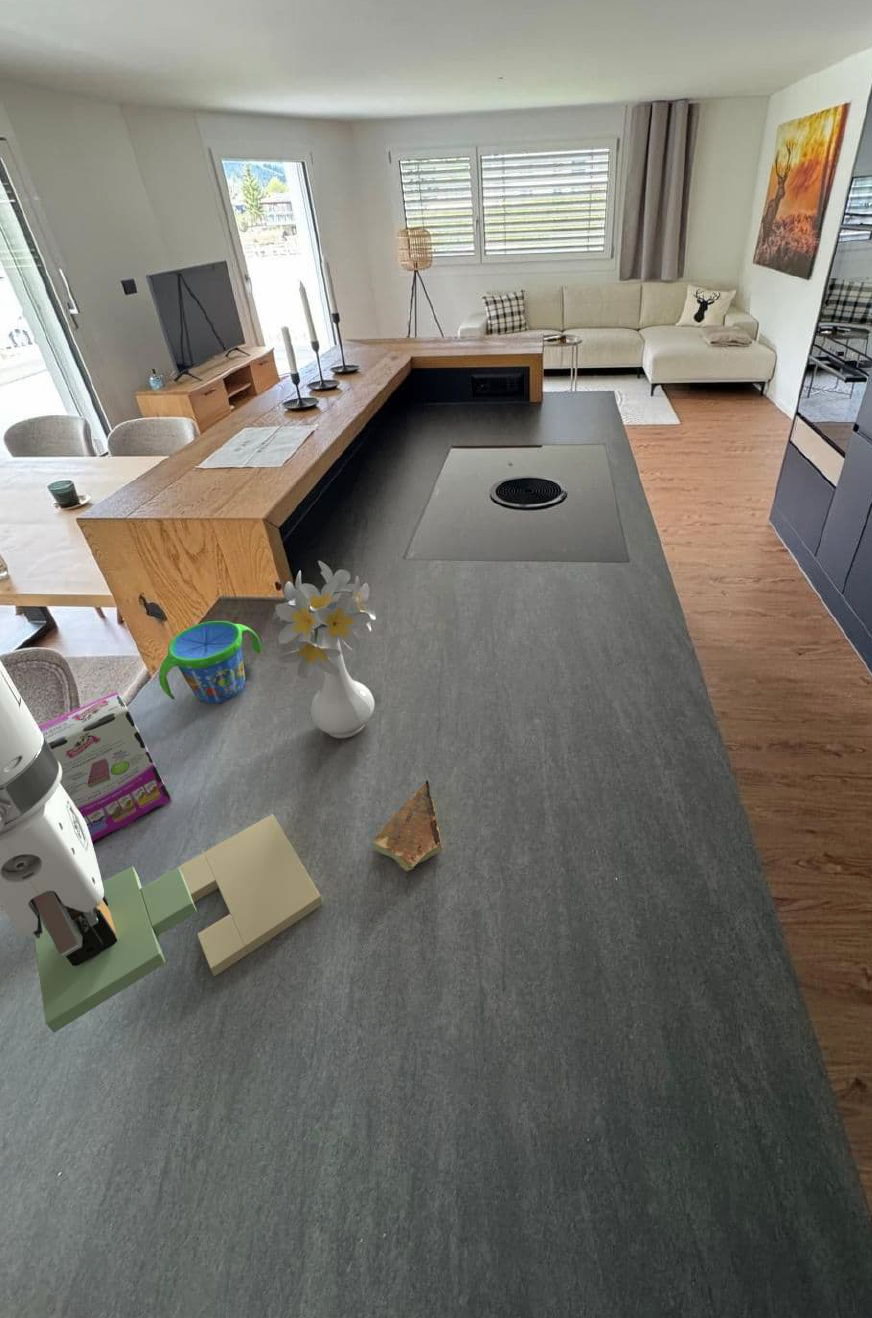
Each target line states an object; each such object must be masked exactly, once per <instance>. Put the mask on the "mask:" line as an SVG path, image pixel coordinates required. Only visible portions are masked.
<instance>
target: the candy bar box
mask: <svg viewBox="0 0 872 1318" xmlns="http://www.w3.org/2000/svg"><path fill="white" fill-rule="evenodd" d="M38 727H39V729H40V731H41V732H42V733H43V735H44V737H45V739H46V740H47V742H48V744H49V746H50V747H51V749H52V751H53V753H54V754H55V756H56V758H57V760H58V761H59V763H60V765H61V768H62V778H61V781H60V784H61V785H62V787H63V788H64V790H65V791H66V793H67V794H68V796H69V797H70V799H71V800H72V802H73V803H74V804H75V806H76V807H77V809H78V810H79V812H80V813H81V815H82V816H83V818H84V820H85V822H86V825H87V827H88V830H89V833H90V837H91V840H92V844H93V845H94V844H96V843H98V842H99V841H101V840H103V839H105V838H107V837H109V836H110V835H112V834H114V833H115V832H118V831H119V830H121V829H123V828H124V827H126V826H128V825H130V824H131V823H134V822H136V821H137V820H139V819H141V818H143V817H144V816H147V814H148V815H149V813H151V812H153V811H155V810H157V809H158V808H161V807H163V806H164V805H166V804H167V803H168V804H169V802H171V801H172V798H171V797H172V796H171V795H170V793H169V791H168V788H167V786H166V784H165V782H164V780H163V777H162V776H161V773H160V771H159V770H158V768H157V765H156V763H155V762H154V760H153V757H152V755H151V753H150V751H149V749H148V747H147V745H146V743H145V741H144V739H143V737H142V735H141V733H140V731H139V729H138V727H137V725H136V723H135V721H134V719H133V717H132V715H131V713H130V711H129V709H128V707H127V705H126V703H125V702H124V700H123V698H122V696H121V694H120V693H119V691H118V690H117V691H115V692H112V693H110V694H108V695H106V696H104V697H101V698H99V699H97V700H93V701H92V702H89V703H88V704H84V705H83V706H80V707H78V708H76V709H74V710H71V711H69V712H67V713H65V714H63V715H61V716H58V717H56V718H54V719H52V720H49V721H46V722H44V723H43V724H39V725H38Z"/></svg>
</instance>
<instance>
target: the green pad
mask: <svg viewBox="0 0 872 1318" xmlns="http://www.w3.org/2000/svg"><path fill="white" fill-rule="evenodd" d="M177 867H178V868H177ZM177 867H176V868H174V869H173V870H171V871H168V872H167V873H165V874H164V875H162V876H159V877H158V878H156V879H154V880H153V881H151V882H149V883H147V884H145V885H144V886H142V884H141V883H142V882H141V880H140V877H139V875H138V873H137V871H136V869H135V867H134V866H130V867H128V868H127V869H125V870H123V871H120V872H119V873H117V874H115V875H113V876H111V877H110V878H108V879H106V880H104V881H102V884H103V888H104V896H105V897H106V899H107V903H108V906H106V904H105V903H104V901H103V900H102V902H101V904H100V905H99V906H97V907H95V908H94V911H97V910H99V909H100V911H101V912H102V914H103V915H104V917H105V918H106V920H107V922H108V923H109V925H110V926H111V928H112V929H113V931H114V932H115V934H116V937H117V942H116V943H115V944H114V945H112V946H111V947H109V948H107V949H106V950H104V951H102V952H100V953H99V954H98V955H96V956H94V957H93V958H91V959H89V960H87V961H85V962H83V963H82V964H80V965H78V966H73V965H72V964H71V963H70V962H69V960H68V959H67V957H66V956H65V957H63V958H62V957H61V956H60V954H59V952H58V950H57V948H56V946H55V944H54V942H53V940H52V938H51V936H50V934H49V933H48V931H47V930H46V929H45V927H44V926H43V924H42V923H41V925H42V932H43V933H42V934H40V938H39V939H33V943H34V949H35V950H34V951H35V956H36V957H35V958H36V963H37V971H38V978H39V985H40V993H41V998H42V1006H43V1013H44V1020H45V1021H44V1022H45V1024H46V1025H47V1027H48V1028H49V1029H50V1030H51V1032H53V1033H56V1032H58V1031H59V1030H61V1029H62V1028H64V1027H66V1026H67V1025H70V1024H71V1023H72V1022H74V1021H76V1020H77V1019H78V1018H80V1017H83V1016H84V1015H85V1014H87V1013H88V1012H90V1011H92V1010H93V1009H95V1008H96V1007H98V1006H99V1005H101V1004H102V1003H104V1002H106V1001H107V1000H110V998H112V997H114V996H116V995H117V994H119V993H120V992H123V991H124V990H125V989H127V988H129V987H130V986H132V985H133V984H135V983H137V982H138V981H139V980H141V979H143V978H145V977H146V976H148V975H150V974H151V973H153V972H154V971H156V970H157V969H159V968H161V967H162V966H163V965H165V964H166V960H165V956H164V954H163V950H162V947H161V944H160V941H159V937H158V936H160V935H162V934H163V933H165V932H168V930H170V929H172V928H174V927H175V926H177V925H179V924H180V923H182V922H183V921H185V920H187V919H188V918H190V917H192V916H193V915H195V914H197V913H198V910H197V908H196V906H195V902H194V903H193V900H192V897H191V895H190V892H189V889H188V887H187V884H186V882H185V879H184V876H183V874H182V872H181V870H180V868H179V866H177ZM80 914H81V911H78V910H75V909H74V910H72V911H71V912H69V915H70V917H71V919H72V918H74V917H76V916H78V915H80Z"/></svg>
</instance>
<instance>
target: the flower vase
mask: <svg viewBox="0 0 872 1318" xmlns="http://www.w3.org/2000/svg"><path fill="white" fill-rule="evenodd" d="M317 563H318V566H319V568H320V569H321V571H320V574H321V575H322V577H323V579H324V580H325V583H326V584H324V585H323V586H322V588H321V590H320V591H319V589H318V588H317V587H316V586H315V585H314V584H311V583H305V582H304V583H302V572H301V570H299V571H298V573H297V575H296V578H295V582H294V583H295V584H293V583H292V582H291V581H287V582H286V583H285V585H284V589H283V595H284V598H285V600H287V602H283V603H277V604H276V605H275V608H274V609H275V612H274V613H273V615H272V619H276V618H279V622H280V623H281V622H282V621H285V622H288V623H289V624H287V625H285V626H284V627H283V628H282V629H281V631H280V632H279V635H278V637H277V640H278V642H279V644H280V645H286V644H289V643H290V642H292V641H293V640H294V639H296V638H297V637H298V641H297V642H296V647H297V649H295V650H292V651H288V652H285V653H282V654H280V655H279V656H278V657H277V660H278V661H280V662H283V663H296V662H299V663H298V666H297V669H296V675H297V676H298V677H299V678H300V679H307V678H309V677H311V675H313V673H314V672H315V671H316V667H317V665H318V668H320V670H321V672H322V684H321V687H320V688H319V690H318V691H316V693H315V694H314V696H313V697H312V700H311V702H310V706H309V716H310V721H311V722H312V724H313V725H314V726H315V728H317V729H318V730H320V731H321V732H323V733H326V734H327V735H328V736H330V737H333V738H336V739H347V738H350V737H354V736H355V735H358V734H359V733H361V731H362V730H363V729H364V728H365V726H366V724H367V723H368V721H369V720H370V718H371V717H372V716H373V713H374V711H375V705H376V704H375V699H374V696H373V693H372V692H371V690H370V689H369V688H368V686H366V685H365V684H363V683H361V682H359V681H358V680H354V679H353V678H352V677H351V675H350V674H349V672H348V669H347V667H346V664H345V660H344V656H343V651H342V647H341V642H342V643H343V645H345V647H347V649H349V650H350V651H353V652H357V651H359V650H360V648H361V642H360V638H359V637H358V635H357V633H356V632H355V631H354V630H353V629H359V628H362V627H364V626H365V627H366V628H367V630H368V631H369V632H372V627H371V623H370V621H371V620H372V621H376V619H377V615H376V613H375V610H374V609H373V608H372V607H371V605H370V604H367V603H365V602H367V600H368V598H369V595H370V587H369V584H368V583H367V582H365V583H363V585H362V586H361V582H360V579H359V576H358V575H356V577H355V582H354V583H349V581H350V580H351V574H350V572H349V571H347V570H346V569H339V570H337V571H336V572H335V573H334V574H333V571H332V570H331V568H330V567H329V566H328V565H327V564H325V563H324V562H323V561H322V560H317ZM294 585H295V586H294ZM350 593H352V595H350ZM335 603H336V604H335ZM334 604H335V606H334V607H335V608H334V610H332V609H331V608H328V607H330V606H332V605H334ZM350 611H351V612H350ZM312 636H313V638H312ZM312 639H313V640H312ZM340 640H341V642H340Z"/></svg>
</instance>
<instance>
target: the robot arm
mask: <svg viewBox="0 0 872 1318" xmlns="http://www.w3.org/2000/svg"><path fill="white" fill-rule="evenodd" d="M38 726H39V725H38V724H37V722H36V720H35V718H34V717H33V715H32V713H31V711H30V710H29V708H28V706H27V704H26V702H25V701H24V699H23V698H22V696H21V694H20V693H19V690H18V689H17V687H16V685H15V684H14V682H13V680H12V678H11V677H10V675H9V673H8V671H7V669H6V668H5V666H4V664H3V662H2V660H0V907H1V908H2V910H3V911H4V912H5V914H6V916H8V919H10V920H11V921H12V923H13V924H14V925H15V926H16V928H17V929H18V930H19V931H20V933H22V934H23V935H24V936H25V937H27V938H29V939H33V940H34V939H39V938H40V934H42V933H43V932H42V925H41V923H42V924H43V926H44V927H45V929H46V930H47V931H48V933H49V934H50V936H51V938H52V940H53V942H54V944H55V946H56V948H57V950H58V952H59V954H60V956H61V957H62V958H63V957H65V956H66V957H67V959H68V960H69V962H70V963H71V964H72V965H73V966H78V965H80V964H82V963H83V962H85V961H87V960H89V959H91V958H93V957H94V956H96V955H98V954H99V953H100V952H102V951H104V950H106V949H107V948H109V947H111V946H112V945H114V944H115V943H116V942H117V937H116V934H115V932H114V931H113V929H112V928H111V926H110V925H109V923H108V922H107V920H106V918H105V917H104V915H103V914H102V912H101V911H100V909H99V910H97V911H94V908H95V907H97V906H99V905H100V904H101V902H102V900H103V901H104V903H105V904H106V906H108V903H107V899H106V897H105V896H104V888H103V884H102V882H103V880H102V876H101V871H100V868H99V863H98V860H97V855H96V852H95V848H94V844H92V840H91V837H90V833H89V830H88V827H87V825H86V822H85V820H84V818H83V816H82V815H81V813H80V812H79V810H78V809H77V807H76V806H75V804H74V803H73V802H72V800H71V799H70V797H69V796H68V794H67V793H66V791H65V790H64V788H63V787H62V785H61V784H60V781H61V778H62V768H61V765H60V763H59V761H58V760H57V758H56V756H55V754H54V753H53V751H52V749H51V747H50V746H49V744H48V742H47V740H46V739H45V737H44V735H43V733H42V732H41V731H40V729H39V727H38ZM74 909H75V910H78V911H81V914H80V915H78V916H76V917H74V918H72V919H71V917H70V915H69V912H71V911H72V910H74Z"/></svg>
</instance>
